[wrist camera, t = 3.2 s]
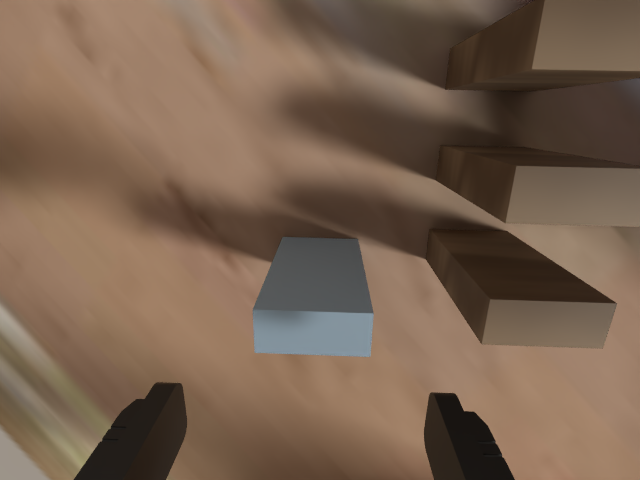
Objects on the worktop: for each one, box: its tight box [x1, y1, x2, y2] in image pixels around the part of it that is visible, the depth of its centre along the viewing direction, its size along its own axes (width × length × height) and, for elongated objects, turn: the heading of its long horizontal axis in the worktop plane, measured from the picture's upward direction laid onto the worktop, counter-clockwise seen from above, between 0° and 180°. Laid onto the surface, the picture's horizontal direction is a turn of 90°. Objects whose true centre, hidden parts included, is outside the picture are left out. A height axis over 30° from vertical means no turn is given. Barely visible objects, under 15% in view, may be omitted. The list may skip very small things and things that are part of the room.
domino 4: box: [426, 229, 617, 349], centre depth 20 cm, size 2×5×10 cm, turn 89°
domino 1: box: [253, 237, 374, 357], centre depth 21 cm, size 2×5×10 cm, turn 89°
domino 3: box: [436, 145, 640, 227], centre depth 18 cm, size 2×5×10 cm, turn 89°
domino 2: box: [445, 0, 640, 91], centre depth 17 cm, size 2×5×10 cm, turn 89°
